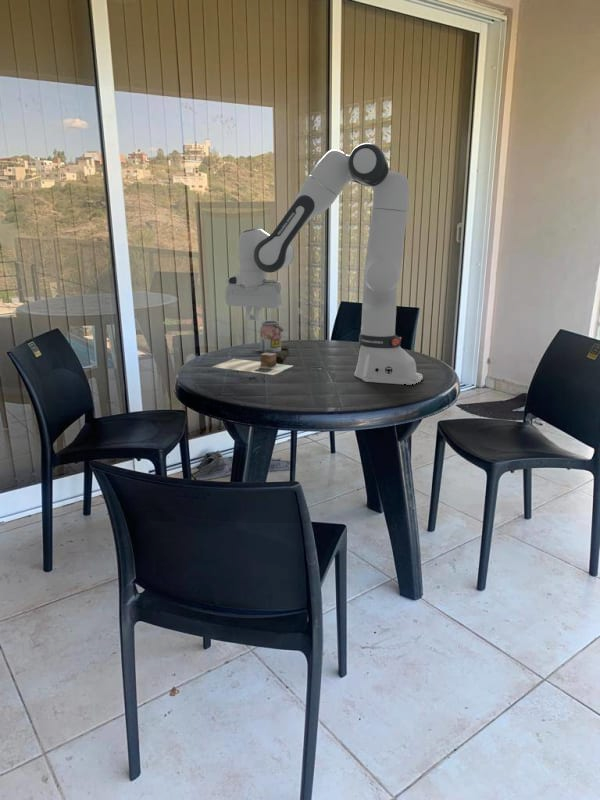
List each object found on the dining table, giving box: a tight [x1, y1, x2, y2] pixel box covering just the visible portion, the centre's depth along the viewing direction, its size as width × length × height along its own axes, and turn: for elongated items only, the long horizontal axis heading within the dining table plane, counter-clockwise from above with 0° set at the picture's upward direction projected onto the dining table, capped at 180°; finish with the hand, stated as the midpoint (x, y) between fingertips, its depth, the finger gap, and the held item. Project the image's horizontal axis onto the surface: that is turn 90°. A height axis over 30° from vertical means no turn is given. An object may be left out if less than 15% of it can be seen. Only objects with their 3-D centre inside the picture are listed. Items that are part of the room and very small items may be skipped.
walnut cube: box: [260, 352, 277, 367], centre depth 199 cm, size 4×4×4 cm
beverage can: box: [259, 320, 285, 354], centre depth 227 cm, size 9×8×12 cm
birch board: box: [211, 358, 294, 380], centre depth 198 cm, size 24×15×2 cm, turn 65°
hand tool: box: [276, 345, 290, 364], centre depth 213 cm, size 19×4×5 cm, turn 169°
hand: (253, 320), depth 198 cm, fingers closed
